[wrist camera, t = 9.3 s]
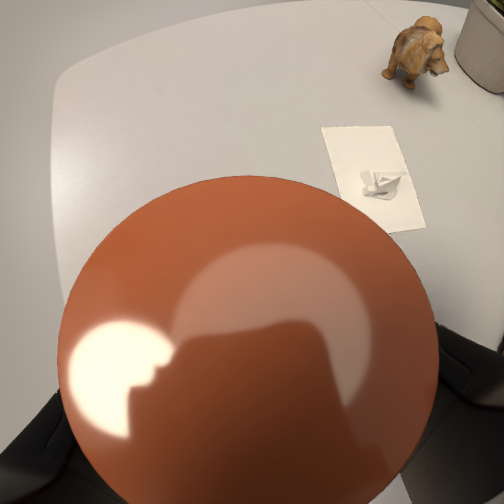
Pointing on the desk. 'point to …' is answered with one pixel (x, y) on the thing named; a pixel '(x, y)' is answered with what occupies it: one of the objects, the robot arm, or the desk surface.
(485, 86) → the potted plant
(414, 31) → the lion figurine
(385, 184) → the adhesive hook
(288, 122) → the desk surface
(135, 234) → the orange cylinder
